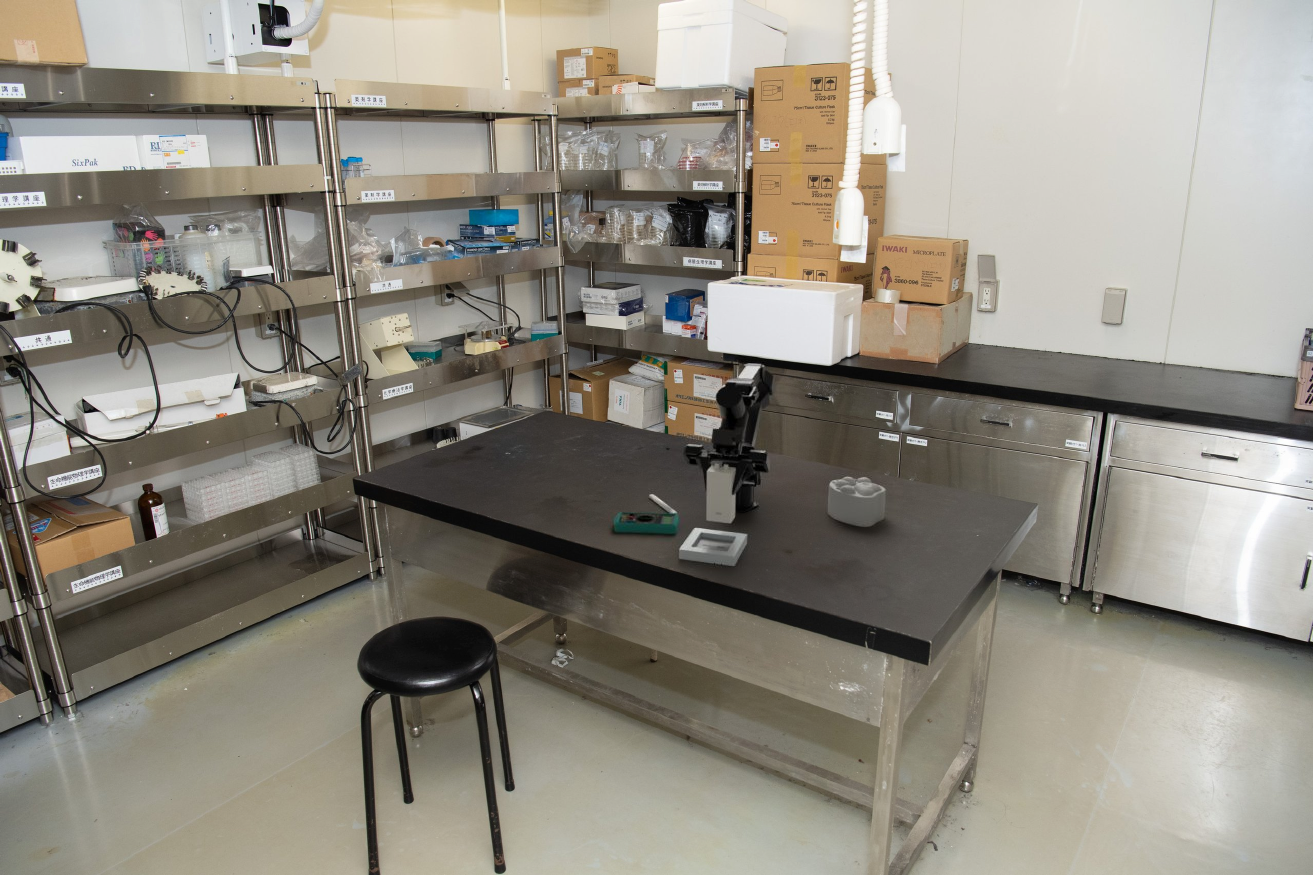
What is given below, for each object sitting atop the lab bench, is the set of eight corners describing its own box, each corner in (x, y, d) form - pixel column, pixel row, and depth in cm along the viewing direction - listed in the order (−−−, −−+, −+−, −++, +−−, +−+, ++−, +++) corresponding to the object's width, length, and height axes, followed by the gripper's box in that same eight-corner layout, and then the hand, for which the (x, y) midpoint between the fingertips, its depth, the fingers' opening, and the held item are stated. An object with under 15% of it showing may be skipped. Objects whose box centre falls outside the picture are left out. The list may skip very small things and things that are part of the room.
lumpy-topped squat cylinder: (865, 529, 198) (868, 494, 195) (817, 514, 207) (819, 480, 204) (888, 516, 205) (891, 482, 203) (841, 502, 214) (843, 469, 211)
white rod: (649, 498, 218) (648, 493, 218) (653, 497, 218) (653, 493, 218) (672, 516, 206) (672, 512, 206) (677, 515, 207) (677, 511, 206)
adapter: (711, 513, 194) (711, 460, 190) (735, 516, 192) (736, 462, 188) (706, 520, 190) (706, 466, 186) (730, 523, 188) (731, 468, 184)
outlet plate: (694, 536, 195) (694, 527, 194) (747, 543, 191) (747, 534, 190) (679, 558, 184) (679, 549, 183) (734, 566, 180) (734, 556, 179)
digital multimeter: (616, 521, 205) (616, 509, 204) (679, 523, 203) (679, 511, 202) (612, 534, 198) (611, 522, 197) (676, 536, 196) (676, 524, 195)
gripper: (685, 409, 190) (670, 472, 184) (769, 415, 185) (757, 481, 178) (695, 433, 200) (681, 494, 193) (775, 440, 194) (763, 503, 188)
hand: (719, 492), depth 188 cm, fingers closed on adapter, 5 cm apart
